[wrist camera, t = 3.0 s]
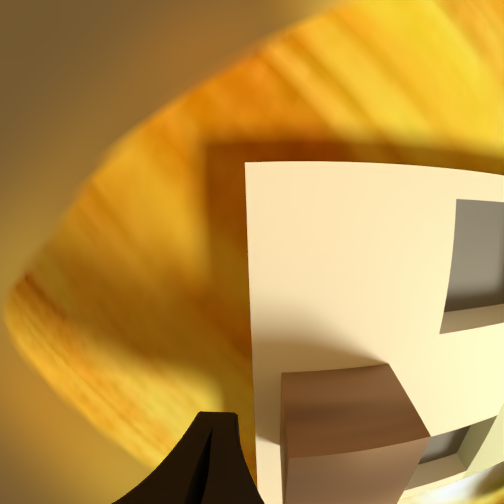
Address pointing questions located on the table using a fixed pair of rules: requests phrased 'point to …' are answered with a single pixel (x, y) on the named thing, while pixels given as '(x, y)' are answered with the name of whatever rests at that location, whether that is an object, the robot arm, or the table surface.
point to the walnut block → (347, 436)
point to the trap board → (381, 298)
